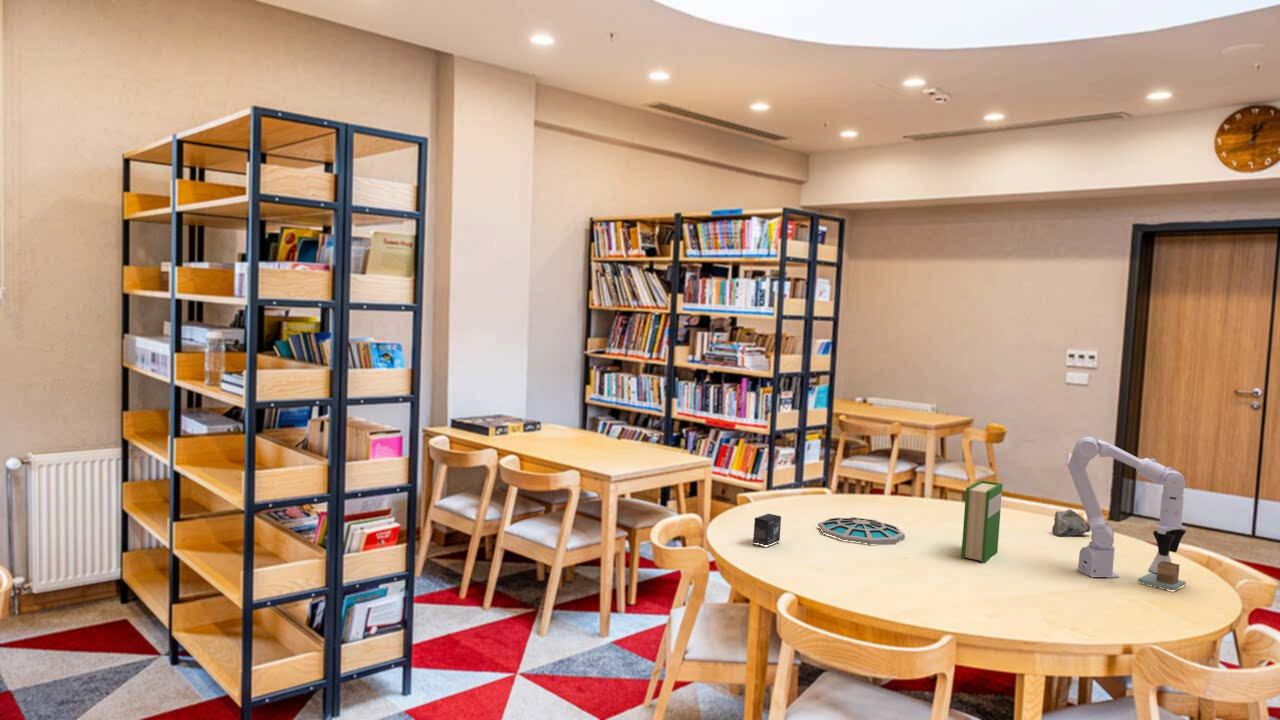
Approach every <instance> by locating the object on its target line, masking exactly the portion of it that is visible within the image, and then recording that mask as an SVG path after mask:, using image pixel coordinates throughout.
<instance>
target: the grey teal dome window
mask: <svg viewBox="0 0 1280 720" xmlns="http://www.w3.org/2000/svg"><path fill="white" fill-rule="evenodd" d="M818 526H819V527H820V528H821V529H822V531H823V533H826V534H829V535H832V536H835V537H837V538H840V539H842V540H848V541H855V542H861V543H867V544H884V545H896V544H897V543H899V542H901V541H902V539H903V540H905V539H906V535H905V534H906V533H904V532H903V531H901V530H900V528H899V527H898V526H895V525H892V524H888V523H886V522H881V521H878V520H876V519H871V518H870V519H869V518H860V517H855V516H853V517H833V518H832V517H831V518H828V519H826V520H824V521H821V522H818V523H817V527H818ZM900 540H901V541H900ZM898 541H899V542H898ZM895 543H896V544H895Z"/></svg>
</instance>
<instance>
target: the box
mask: <svg viewBox="0 0 1280 720" xmlns="http://www.w3.org/2000/svg"><path fill="white" fill-rule="evenodd" d="M781 524H782V515H777V514H772V513H766V514H764V515H760V516H757V517H754V524H753V525H754V526H753V540H752V541H753V542H752V544H753V543H759V544H763V545H769V544H772V543H774V542H777V541H779V540H781V526H782V525H781Z"/></svg>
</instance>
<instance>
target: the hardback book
mask: <svg viewBox="0 0 1280 720" xmlns="http://www.w3.org/2000/svg"><path fill="white" fill-rule="evenodd" d="M1002 495H1003V482H1002V483H1001V482H994V481H988V480H978V481H976V482H974V483H972V484H971V485H969V486H967V487H966V488H965V500H964V516H963V527H962V528H963V529H962V540H961V541H962V542H961V544H962V545H961V556H960V557H961V558H960V559H961V560H963V559H964V560H966V559H972V560H978V561H981V564H983V563H984V564H986V563H987V562H988V561H989V560H990V558H991V557H992V556H993V557H994V556H995V555H996V554H997V553H999V552H998V551H999V549H998V547H999V536H1000V525H1001V524H1000V523H1001V521H1000V520H1001V510H1002V497H1003V496H1002ZM993 557H992V558H993ZM992 558H991V559H992Z"/></svg>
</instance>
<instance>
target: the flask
mask: <svg viewBox="0 0 1280 720" xmlns="http://www.w3.org/2000/svg"><path fill="white" fill-rule="evenodd" d="M1171 559H1172V558H1171V557H1170V553H1169V554H1168V556H1162V555H1159V550H1158V549H1157V553H1156V555H1155V557H1154V559H1153V561H1152V563H1151V564H1150V566H1149V568H1148V569H1147V570H1148V571H1149V572H1150V571H1151V572H1150V573H1152V572H1153V573H1152V574H1155V573H1157V568H1158V563H1160V562H1162V561H1166V562H1170V563H1173V562H1172V560H1171Z"/></svg>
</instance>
